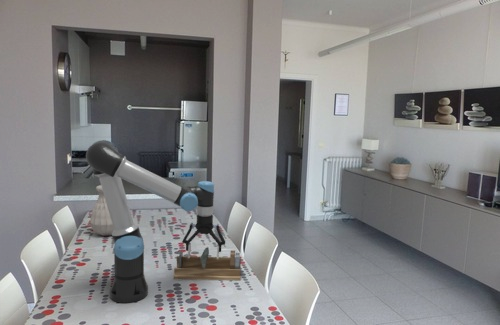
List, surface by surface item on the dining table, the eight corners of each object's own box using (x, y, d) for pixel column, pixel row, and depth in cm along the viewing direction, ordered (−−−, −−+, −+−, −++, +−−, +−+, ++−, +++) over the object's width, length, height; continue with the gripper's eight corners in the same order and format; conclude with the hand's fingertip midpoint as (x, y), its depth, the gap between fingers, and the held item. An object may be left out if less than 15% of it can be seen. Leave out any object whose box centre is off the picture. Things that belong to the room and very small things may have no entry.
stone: (203, 264, 184) (203, 244, 184) (211, 264, 184) (211, 244, 184) (198, 270, 173) (198, 248, 174) (207, 270, 173) (206, 248, 173)
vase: (85, 231, 239) (84, 185, 235) (116, 226, 252) (116, 182, 248) (96, 240, 224) (96, 190, 220) (129, 233, 237) (128, 187, 234)
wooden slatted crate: (240, 280, 175) (240, 257, 173) (173, 279, 174) (173, 255, 173) (240, 270, 187) (241, 248, 185) (177, 268, 186) (177, 246, 184)
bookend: (181, 273, 177) (181, 254, 176) (174, 273, 177) (174, 254, 176) (182, 268, 182) (182, 251, 181) (176, 268, 182) (176, 250, 181)
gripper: (231, 213, 181) (229, 255, 183) (179, 211, 180) (178, 253, 182) (231, 217, 173) (229, 261, 176) (177, 215, 173) (175, 259, 175)
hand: (203, 257), depth 179 cm, fingers open, 13 cm apart
